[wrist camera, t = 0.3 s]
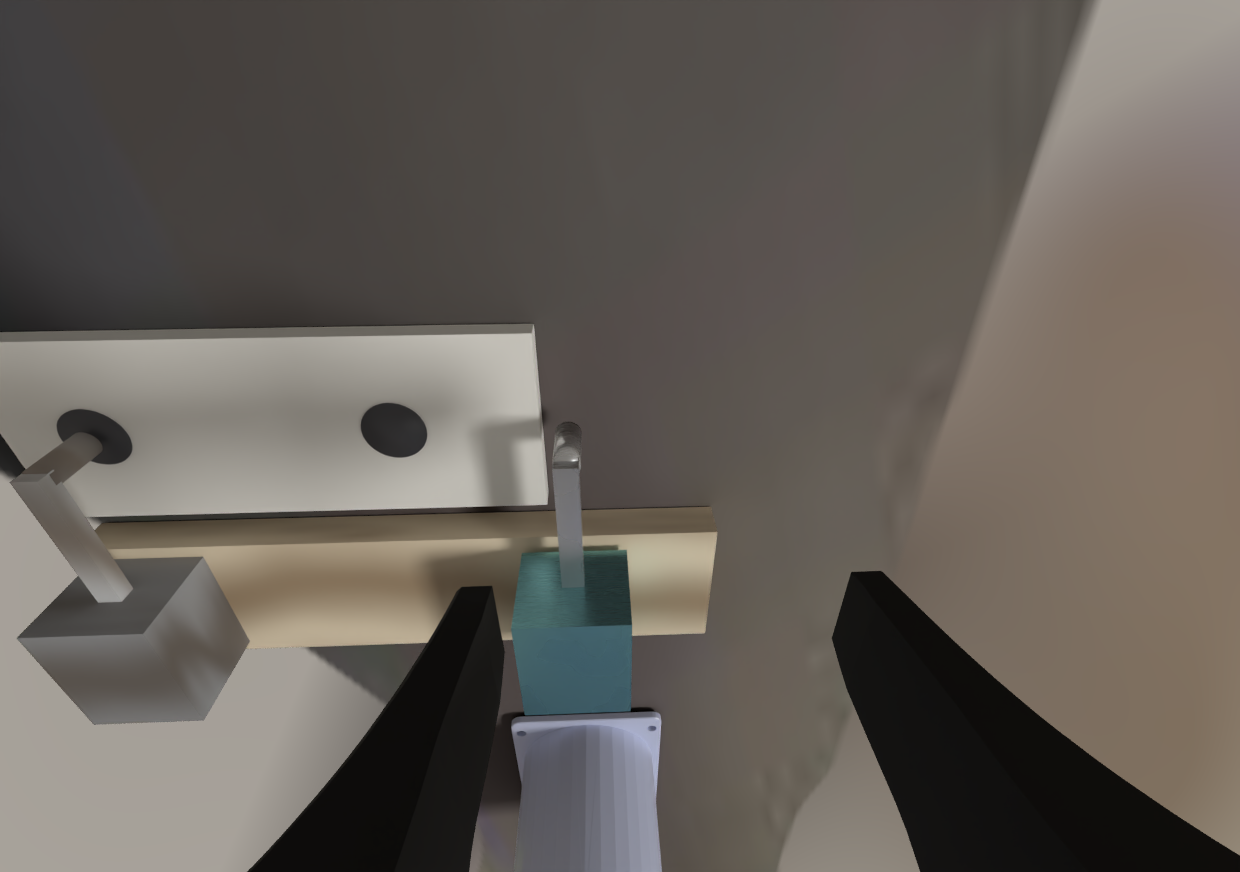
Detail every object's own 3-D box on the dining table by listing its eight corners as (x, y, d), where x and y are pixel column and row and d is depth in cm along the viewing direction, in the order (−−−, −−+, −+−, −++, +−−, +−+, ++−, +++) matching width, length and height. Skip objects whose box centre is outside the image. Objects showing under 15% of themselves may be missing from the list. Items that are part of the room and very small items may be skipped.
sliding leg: (625, 622, 25) (630, 711, 22) (533, 625, 25) (524, 715, 22) (626, 420, 20) (634, 497, 16) (508, 422, 19) (490, 501, 16)
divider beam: (699, 606, 27) (719, 707, 23) (168, 623, 26) (86, 732, 22) (722, 400, 21) (755, 487, 17) (31, 415, 20) (-118, 510, 16)
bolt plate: (548, 491, 23) (546, 505, 22) (75, 503, 22) (58, 519, 21) (533, 323, 19) (531, 334, 18) (-40, 332, 18) (-66, 344, 17)
